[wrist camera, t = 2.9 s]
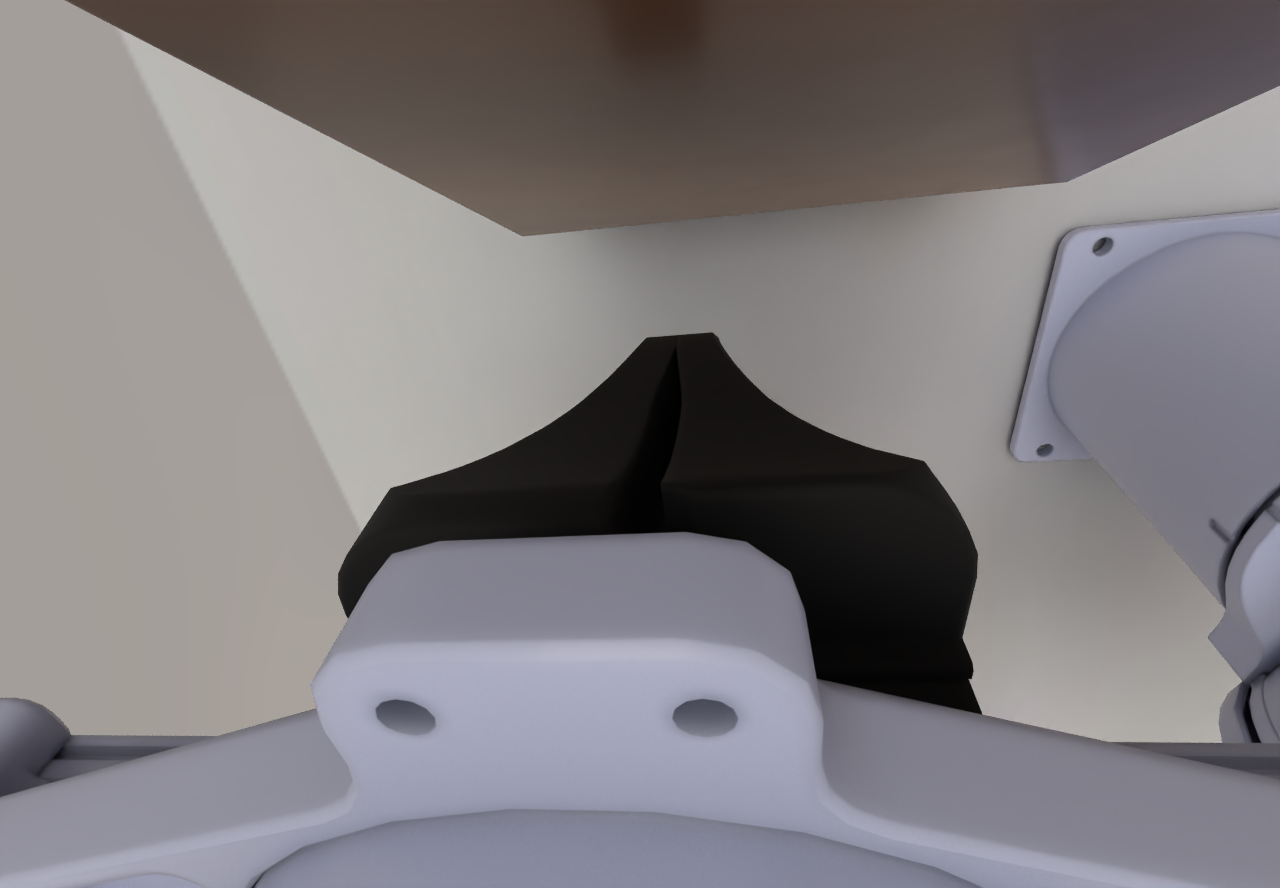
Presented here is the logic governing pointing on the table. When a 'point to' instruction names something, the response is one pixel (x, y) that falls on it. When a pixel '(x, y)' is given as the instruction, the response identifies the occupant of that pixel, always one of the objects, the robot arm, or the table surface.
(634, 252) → the table surface
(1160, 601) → the table surface
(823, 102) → the lid
